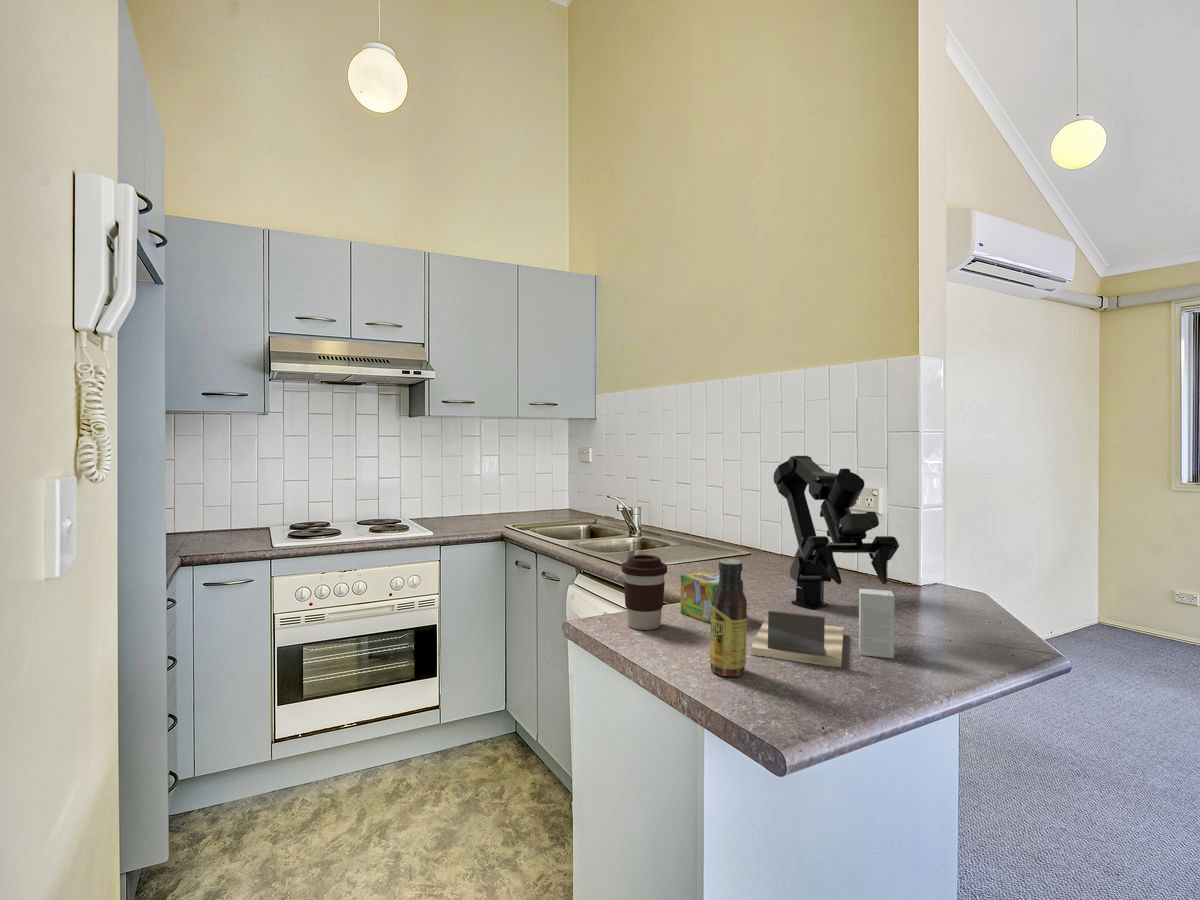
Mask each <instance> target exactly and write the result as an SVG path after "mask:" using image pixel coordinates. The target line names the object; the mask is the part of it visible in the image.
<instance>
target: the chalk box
mask: <svg viewBox="0 0 1200 900" xmlns="http://www.w3.org/2000/svg"><path fill="white" fill-rule="evenodd" d="M718 585H719V573H715V572H711V571H708V570H707V571H700V572H694V573H693V572H692V573H686V574H681V575H680V613H681V614H684V615H686V616H690V617H692V618H695V619H697V620H700V621H703V622H705V623H707V624H710V625H711V604H712V601H713V598H714V596H715V593H716V590H717V587H718ZM740 588H741V590H742V591H743V592H744V581H743V579H741V587H740Z"/></svg>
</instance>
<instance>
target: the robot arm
mask: <svg viewBox="0 0 1200 900" xmlns="http://www.w3.org/2000/svg"><path fill="white" fill-rule="evenodd" d="M773 483H774V484H775V485H776V488H777V492H778V493H779V494H780V495H781V496H782V497H783V498H785V499H786V502H787V505H788V510H789V512H790V518H791V521H792V525H793V529H794V533H795V536H796V540H797V541H796V542H797V545H798V547H797V550H796V552H795V554H794V560H793V562H792V564H791V566H790V568H789V575H790V578H791V579H792V580H793V581H795V582H796V586H795V600H791V602H790V603H791V604H793V605H797V606H800V607H804V608H807V609H811V610H814V609H818V608H823V607H828V606H830V604H829V602H825V601H824V599H825V598H824V596H825V595H824V592H825V591H824V590H825V589H824V588H825V583H824V582H829V583H830V582H832V580H833V581H834V582H835V583H836V584H837V585H838V586H839V585H841V584H842V577H841V574H840V572H839V569H838V567H837V564H836V561H835V559H834V553H842V554H869V555H868V556H869V557H870V559H872V560H871V562H870V563H871V565H872V567H873V569H874V571H875V573H876V576H877V577H878V579H879V581H880V583H881V584H882V585H886V584H887V582H888V581H887V579H888V575H887V573H888V561H890V560H891V559H893V557H894V555H895V554H896V552H897V550H898V549H899V547H900V543H899V542H898V539H897V538H896V537H895V536H891V535H890V536H889V535H888V536H887V535H876V536H875V538H874V539H873V541H872V542H863V540H865V539H866V538H867V532H868V531H872V530H873V529H875V528H876V527H878V526H879V525H880V521H879V517H878V515H877V512H876V511H866V512H865V513H864V512H863V513H852V511H851V509H850V508H853V507H854V506H855V505H856V503H857V501H858V500H859V497H860V496H861V493H862V491H863V489H864V488H865V480H864V479H863V478H862V477H861V476H860V475H858V474H857V473H854V472H853V471H851V469H850V468H840V469H839V470H838V474H837V473H833V472H828V471H825V470H824V469H823V468H821V466H819V465H818V464H817V463H816V462H814V461H813V459H812V457H811V456H809V455H793V456H790V457H789V458H788V460H786V461H784V462H782V463H781V464H779V465H778V466H777V467H776V468H775V470H774V473H773ZM807 487H808V493H809V494H810V496H811V497H812V498H813V500H815V501H822V503H821V505H820V511H819V517H820V518H824V521H825V524H826V527H827V531H826V535H827V536H825V535H824V536H823V535H817V533H816V529H815V526H814V523H813V518H812V515H811V510H810V508H809V507H810V506H809V504H808V500H807V497H806V493H805V492H806V489H807ZM829 537H830V539H831V542H830V539H829Z"/></svg>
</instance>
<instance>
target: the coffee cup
mask: <svg viewBox="0 0 1200 900" xmlns="http://www.w3.org/2000/svg"><path fill="white" fill-rule="evenodd" d="M621 572H622V574H624V580H623V586H624V587H623V588H624V589H623V590H624V604H625V608H626V623H627V626H629V627H630V628H631V629H635V630H638V629H639V630H638V631H651V630H655V629H658V628H659V627H660V626H661V624H662V610H663V607H664V596H665V586H666V585H665V575H666V574H667V573H668V564H666V563H664V562H662V560H661V557H659V556H657V555H653V554H635V555H631V556H629V557H628V559H627V561H625V562H623V563H622V564H621Z"/></svg>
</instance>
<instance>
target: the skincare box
mask: <svg viewBox="0 0 1200 900" xmlns="http://www.w3.org/2000/svg"><path fill="white" fill-rule="evenodd" d="M895 600H896V598H895V595H894V592H893V591H892V590H885V589H884V590H882V589H872V588H871V589H870V588H869V589H868V588H859V589H858V651H859V654H860V656H866V657H877V658H886V659H894V658H895Z"/></svg>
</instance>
